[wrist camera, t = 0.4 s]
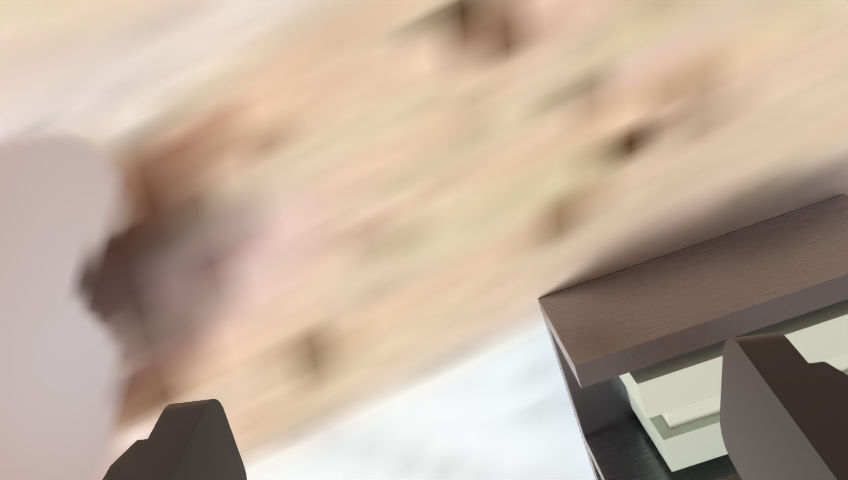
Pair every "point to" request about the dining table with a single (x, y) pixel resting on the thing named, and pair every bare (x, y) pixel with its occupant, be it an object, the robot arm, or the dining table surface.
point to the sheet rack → (687, 323)
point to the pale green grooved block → (719, 385)
